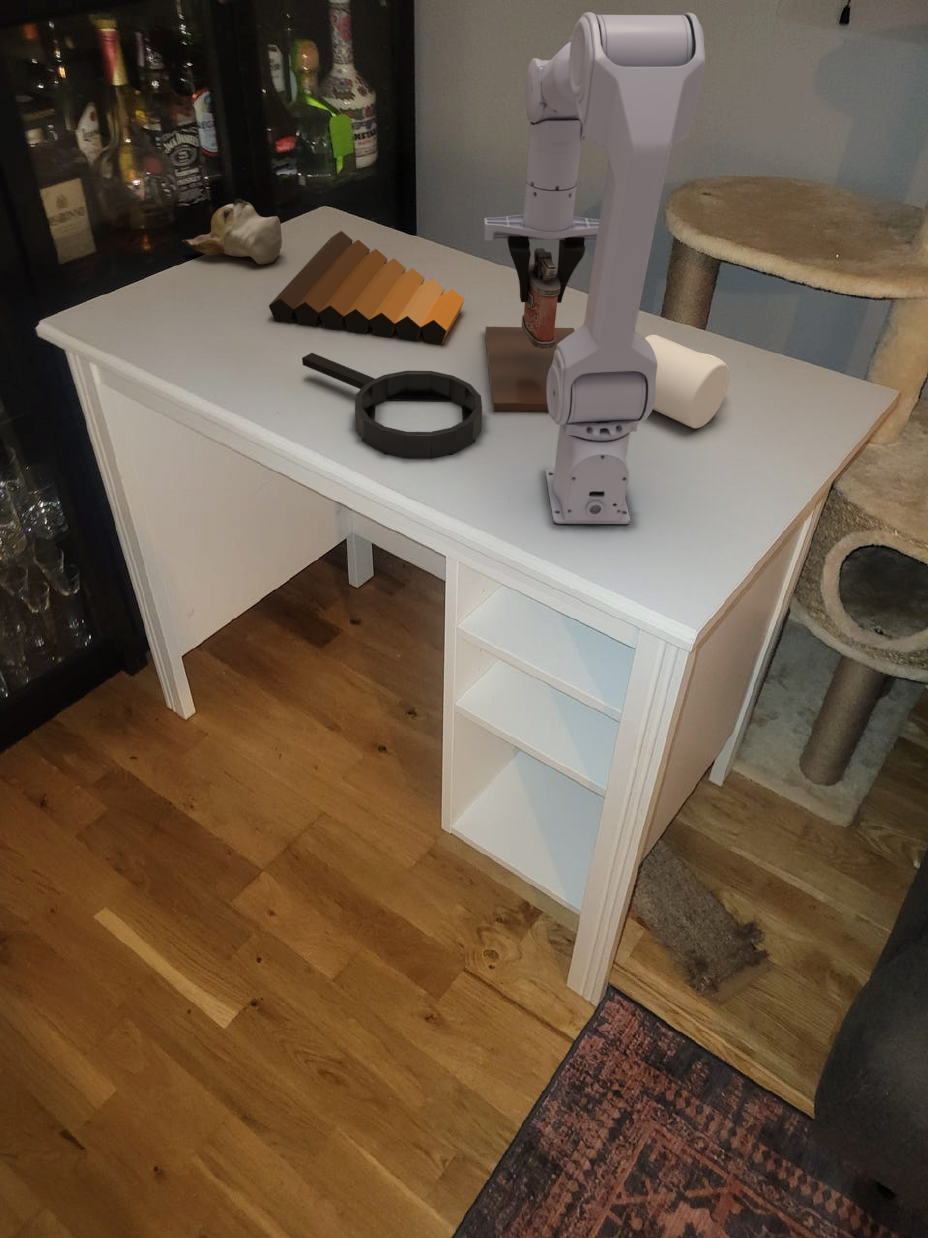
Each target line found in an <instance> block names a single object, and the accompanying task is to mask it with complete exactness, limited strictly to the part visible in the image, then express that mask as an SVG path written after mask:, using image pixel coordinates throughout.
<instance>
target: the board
mask: <svg viewBox="0 0 928 1238" xmlns="http://www.w3.org/2000/svg"><path fill="white" fill-rule="evenodd" d="M574 331H576V330H575V328H574V327H555V329H554V335H555V345H554V347H553V348H551V349H538V348H536V347H534V346H533V345H532V344H531V343H530V342H529V341H528V339H527V338H526V336H525V335H524V332H523V330H522V326H485V332H484V333H485V334H484V335H485V336H484V337H485V345H486V354H487V363H488V374H489V383H490V392H491V399H492V400H491V401H492V410H493V412H517V413H519V412H524V413H526V412H527V413H549V410H548V405H547V377H548V372H549V369H550V367H551V366H552V362H553V358H554V352H555V351H556V348H557V344H558V343H559V342H560V341H562V340H563V339H564V338H566V337H567V336H569V335H570V334H571V333H573V332H574Z"/></svg>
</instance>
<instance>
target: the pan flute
mask: <svg viewBox="0 0 928 1238" xmlns="http://www.w3.org/2000/svg"><path fill="white" fill-rule="evenodd" d="M353 241H354V242H353ZM406 270H407V268H406V267H405V266H404V265H403V264H402V263H400V262H399V260H397V259H396V258H392V259H390V260H389V261H388V257H386V256H385V255H384V254H383V253H382V252H380V250H378V249H377V248H375V249H373V250H372V251H371V249H370V248H369V247H368V246H367V245H365V244H364V243H363V242H362V241H361V240H360V239H356V241H355V240H354V239H352V238H351V237H349V236H348V235H347V234H346V233H345V232H344V231H342V230H340V231H338V232H337V233H336V234H334V235H333V236H330V238H328V240H327V241H326V243H324V244H323V246H322V247H321V248H319V250H318V251H317V252H316V253H315V254H314V255H313V256H312V257H311V259H310V260H309V261H308V262H307V263H306V264H305V265H304V266H303V268H302V269H301V270H300V271H299V272H298V273H297V274H296V275H295V276H294V277H293V278H292V279H291V280H290V282H289V283H287V285H286V286H285V287H284V288H283V289H282V291H280V293H278V294H277V296H276V297H275V298H274V299H273V300H272V301H271V302H270V303H269V305H268V307H269V310H270V313H271V315H272V317H273V321H275V322H280V323H285V324H291V323H292V322H293V320H294V319H295V318H296V320H297V322H298V325H300V326H308V327H316V326H317V325H318V323H320V321H321V324H322V326H323V328H324V329H328V330H335V331H340V330H342V328H343V327H344V326H345V324H346V327H347V330H348V332H350V333H356V334H362V335H365V334H366V333H367V331H368V330H369V329H370V328H371V330H372V332H373V335H374V336H377V337H384V338H391V337H392V335H393V334H394V333H395V331H396V332H397V336H398V337H399V340H405V341H411V342H416V341H417V340H418V339H419V337H420V336H421V333H422V336H423V340H424V342H425V344H432V345H439V346H442V345H443V343H444V341H445V339H446V338H447V336H448V334H449V332H450V330H451V329H452V327H453V325H454V324H455V322H456V320H457V318H458V316H459V315H460V313H461V311H462V308H463V304H464V303H465V298H464V297H463V296H461V294H459V293H458V292H457V291H456V290H455V289H454V288H451V289H449V290H448V291H445V287H443V286H442V285H441V284H440V283H438V282H437V280H435V279H434V278H433V277H432V278H430V279H428V280H426V281H425V279H426V278H425V277H424V276H423V275H422V274H420V272H418V271H417V270H416V269H415V268H414V267H411V268H410V269H408V270H407V271H406ZM444 291H445V292H444Z"/></svg>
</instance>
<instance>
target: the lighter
mask: <svg viewBox="0 0 928 1238" xmlns="http://www.w3.org/2000/svg"><path fill="white" fill-rule="evenodd" d="M533 251H534V253H533V259H534V261H530V262H529V270H528V296H527V302H524V306H523V315H522V316H521V327H522V330H523V332H524V335H525V336H526V338H527V339H528V341H529V342H530V343H531V344H532V345H533V346H534V347H536V348H538V349H551V348H553V347H554V345H555V335H554V329H555V328H556V319H557V310H558V309H557V308H558V303H557V300H558V294H559V293H560V287H561V286H560V281H559V278H558V276H557V266H556V265H555V263H554V262H553V256H552V252H551V251H546V250H545V249H544V248H542V247H537V248H534V250H533Z"/></svg>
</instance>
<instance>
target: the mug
mask: <svg viewBox="0 0 928 1238" xmlns="http://www.w3.org/2000/svg"><path fill="white" fill-rule="evenodd" d="M644 338H645V339H646V340H647V341H648V342H649V343H650V345H651V347H652V349H653V351H654V353H655V357H656V360H657V363H658V366H657V373H656V398H655V404H654V407H653V410H654V411H656V412H658V413H660V414H662V415H664V416H666V417H668V418H671V419H672V420H675V421H678V422H679V423H681V424H683V425H685V426H687V427H690V428H692V429H700V428H702V427H704V426H705V425H707V423H709V422H710V421H711V420H712V419H713V417H715V415H716V413H717V412H718V410H719V409H720V407H721V405H722V404H723V402H724V399H725V397H726V394H727V392H728V389H729V385H730V378H731V377H730V376H731V375H730V369H729V366H728V365H727V364H726V363H725V361H724V360H722V359H721V358H719V357H718V356H715V355H712V354H709V353H703V352H698V351H696V350H693V349H691V348H689V347H687V346H684V345H682V344H679V343H676V342H674V341H672V340H670V339H667V338H665V337H663V336H660V335H658V334H649V335H647V336H646V337H644ZM653 410H652V411H653Z"/></svg>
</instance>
